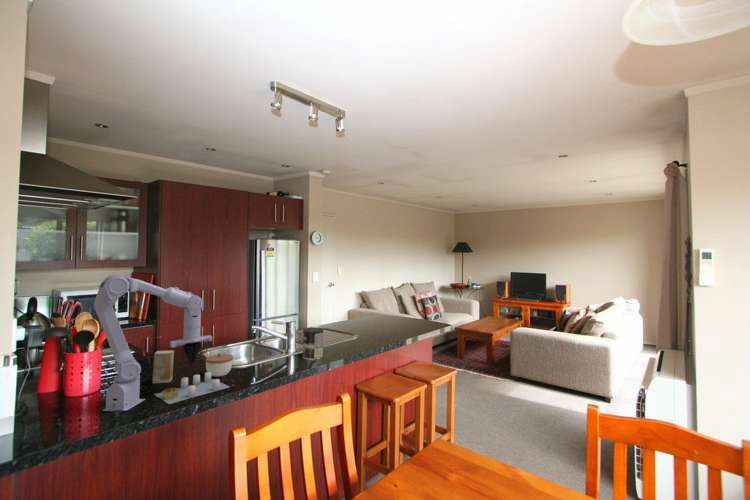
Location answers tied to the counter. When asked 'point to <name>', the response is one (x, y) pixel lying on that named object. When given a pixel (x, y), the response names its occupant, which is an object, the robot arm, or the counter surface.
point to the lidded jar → (219, 364)
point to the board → (195, 388)
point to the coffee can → (312, 343)
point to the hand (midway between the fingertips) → (191, 363)
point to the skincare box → (163, 366)
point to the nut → (170, 393)
